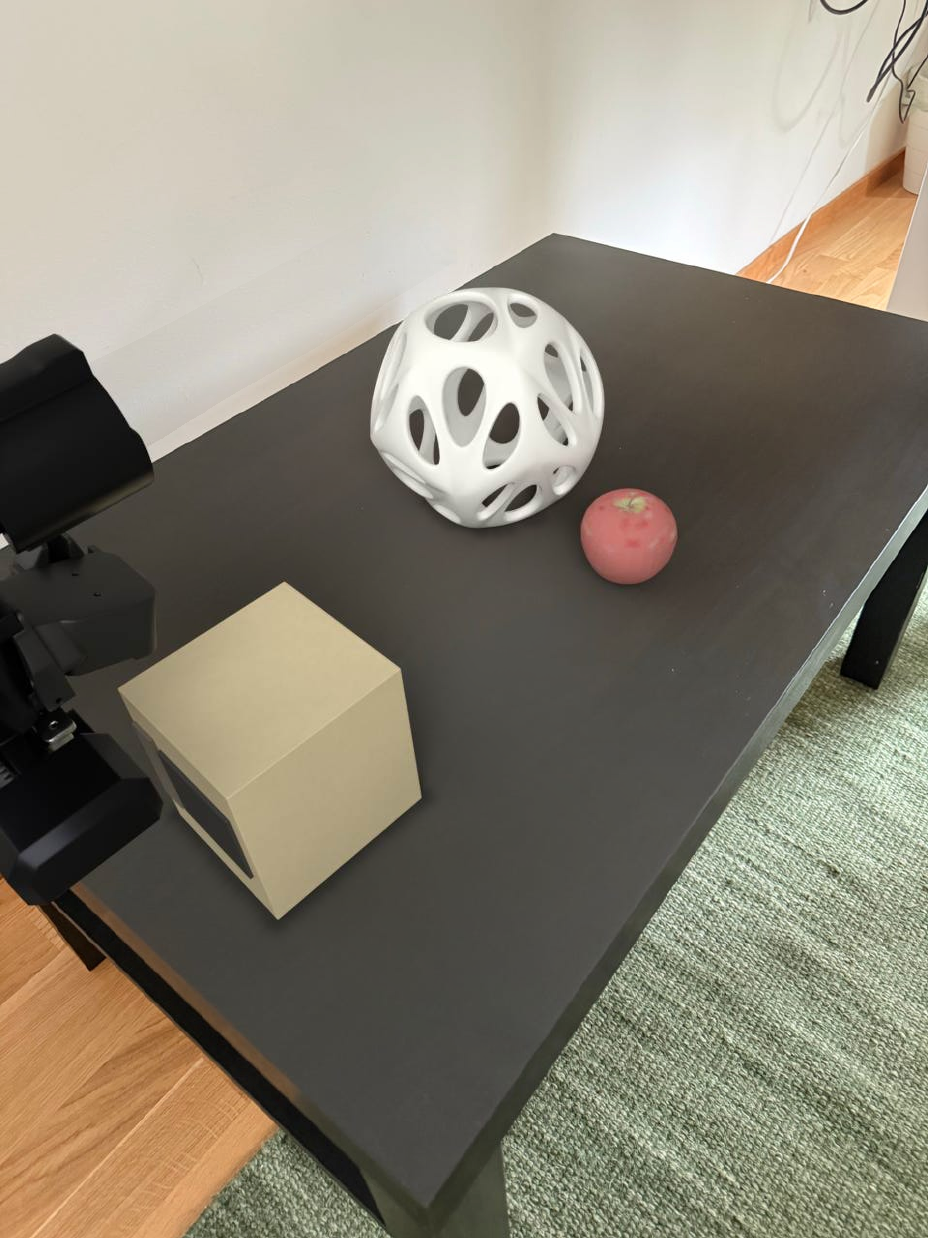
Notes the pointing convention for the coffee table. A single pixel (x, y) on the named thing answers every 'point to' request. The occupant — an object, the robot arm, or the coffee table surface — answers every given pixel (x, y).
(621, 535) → the apple
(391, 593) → the coffee table surface
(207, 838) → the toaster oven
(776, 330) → the coffee table surface
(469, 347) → the decorative ball
